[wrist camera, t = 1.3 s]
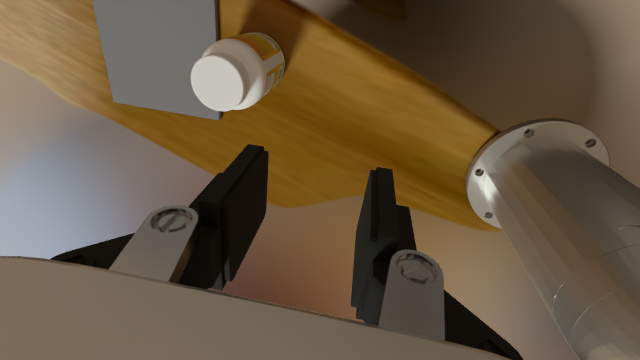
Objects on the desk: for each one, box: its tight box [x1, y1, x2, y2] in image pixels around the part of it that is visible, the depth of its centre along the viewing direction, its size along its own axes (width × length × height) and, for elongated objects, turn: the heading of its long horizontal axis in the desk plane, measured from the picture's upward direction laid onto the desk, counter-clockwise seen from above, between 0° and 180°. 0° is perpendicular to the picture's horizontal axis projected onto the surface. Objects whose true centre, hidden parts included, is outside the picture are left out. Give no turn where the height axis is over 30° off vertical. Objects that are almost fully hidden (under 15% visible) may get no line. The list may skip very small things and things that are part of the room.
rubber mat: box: [92, 0, 222, 120], centre depth 31 cm, size 12×13×1 cm
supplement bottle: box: [191, 32, 285, 111], centre depth 27 cm, size 5×5×10 cm
